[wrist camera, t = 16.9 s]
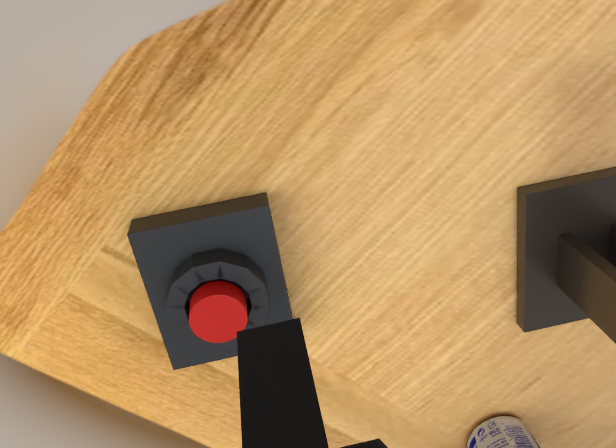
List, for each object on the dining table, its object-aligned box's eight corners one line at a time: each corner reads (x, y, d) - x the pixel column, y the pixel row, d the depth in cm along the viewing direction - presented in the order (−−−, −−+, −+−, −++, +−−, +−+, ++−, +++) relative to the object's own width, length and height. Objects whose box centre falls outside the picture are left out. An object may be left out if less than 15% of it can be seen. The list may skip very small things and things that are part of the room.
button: (183, 286, 36) (182, 301, 35) (239, 274, 36) (240, 289, 35) (197, 332, 38) (196, 348, 36) (251, 320, 38) (252, 336, 36)
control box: (131, 219, 38) (122, 247, 34) (266, 192, 38) (271, 217, 35) (175, 351, 42) (171, 387, 39) (294, 324, 43) (301, 358, 39)
